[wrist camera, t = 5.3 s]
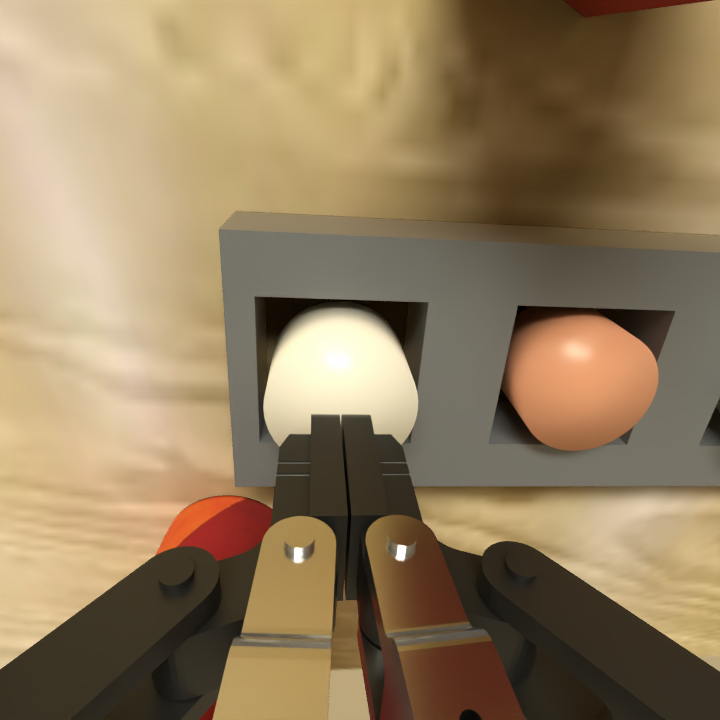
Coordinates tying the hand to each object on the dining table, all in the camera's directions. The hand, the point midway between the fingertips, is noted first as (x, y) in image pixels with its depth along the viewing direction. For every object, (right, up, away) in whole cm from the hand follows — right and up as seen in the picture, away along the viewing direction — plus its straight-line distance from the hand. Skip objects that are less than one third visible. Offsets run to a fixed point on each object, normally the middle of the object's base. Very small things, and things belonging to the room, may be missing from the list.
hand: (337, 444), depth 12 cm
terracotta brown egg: (+8, +2, +6) cm, 10 cm away
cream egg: (0, +2, +4) cm, 5 cm away
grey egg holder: (+8, +3, +7) cm, 10 cm away
